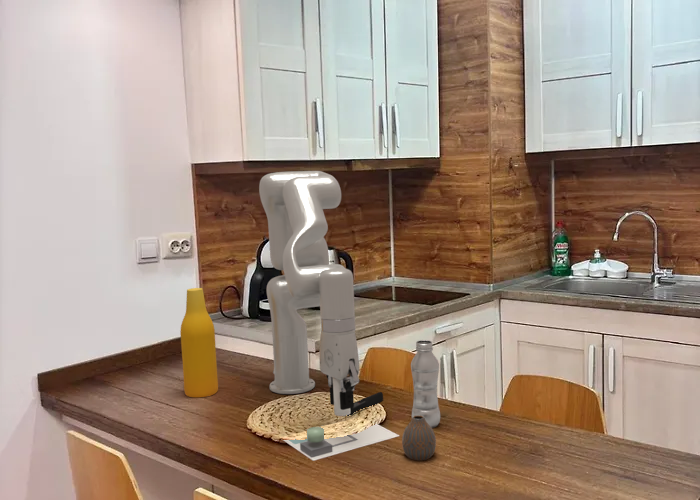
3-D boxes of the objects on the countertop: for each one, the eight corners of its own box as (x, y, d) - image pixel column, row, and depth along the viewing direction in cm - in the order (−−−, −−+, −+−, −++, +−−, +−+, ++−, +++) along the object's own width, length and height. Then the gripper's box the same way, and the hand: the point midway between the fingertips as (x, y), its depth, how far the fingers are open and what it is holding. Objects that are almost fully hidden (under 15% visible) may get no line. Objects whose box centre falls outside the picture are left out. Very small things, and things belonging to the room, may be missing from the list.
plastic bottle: (423, 419, 168) (421, 337, 165) (446, 426, 163) (444, 341, 160) (406, 427, 163) (403, 342, 161) (428, 434, 158) (426, 347, 156)
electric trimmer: (387, 404, 181) (387, 392, 180) (348, 421, 169) (348, 408, 169) (376, 401, 183) (375, 390, 183) (337, 418, 172) (336, 405, 171)
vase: (402, 451, 149) (400, 411, 148) (434, 451, 149) (433, 410, 148) (403, 465, 142) (402, 423, 141) (437, 464, 142) (436, 422, 141)
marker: (331, 412, 158) (328, 368, 157) (345, 409, 159) (343, 365, 158) (339, 417, 154) (337, 371, 153) (353, 413, 156) (351, 368, 155)
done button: (304, 438, 150) (303, 429, 150) (319, 434, 152) (318, 425, 152) (312, 443, 147) (312, 434, 147) (327, 439, 149) (326, 430, 149)
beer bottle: (216, 385, 201) (209, 285, 197) (220, 395, 192) (214, 290, 188) (182, 390, 198) (175, 288, 194) (186, 400, 189) (178, 293, 186)
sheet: (278, 439, 159) (278, 436, 159) (360, 418, 170) (360, 415, 170) (313, 463, 145) (313, 460, 145) (399, 438, 157) (399, 435, 156)
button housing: (300, 449, 151) (300, 443, 151) (320, 444, 153) (320, 437, 153) (311, 457, 147) (311, 450, 146) (332, 451, 149) (332, 444, 149)
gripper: (305, 321, 160) (309, 400, 162) (343, 333, 146) (347, 419, 148) (333, 317, 164) (337, 394, 166) (373, 328, 150) (376, 411, 152)
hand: (342, 405), depth 157 cm, fingers closed on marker, 3 cm apart
